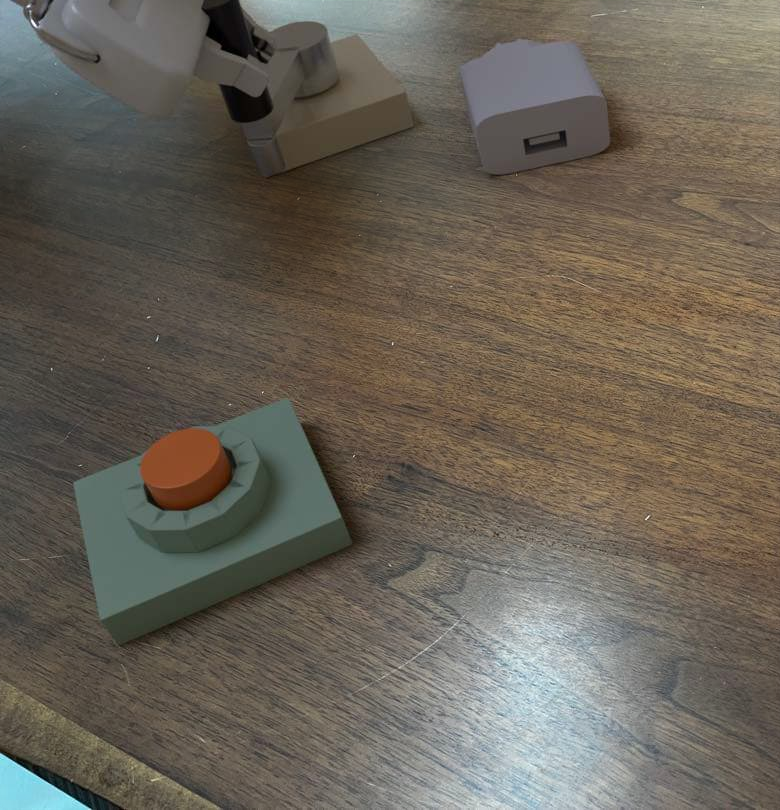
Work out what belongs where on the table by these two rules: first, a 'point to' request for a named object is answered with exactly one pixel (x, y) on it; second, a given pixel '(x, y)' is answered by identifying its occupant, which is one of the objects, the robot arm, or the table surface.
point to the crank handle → (271, 76)
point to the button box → (208, 527)
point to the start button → (186, 469)
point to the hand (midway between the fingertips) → (269, 68)
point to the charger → (534, 106)
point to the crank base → (344, 109)
